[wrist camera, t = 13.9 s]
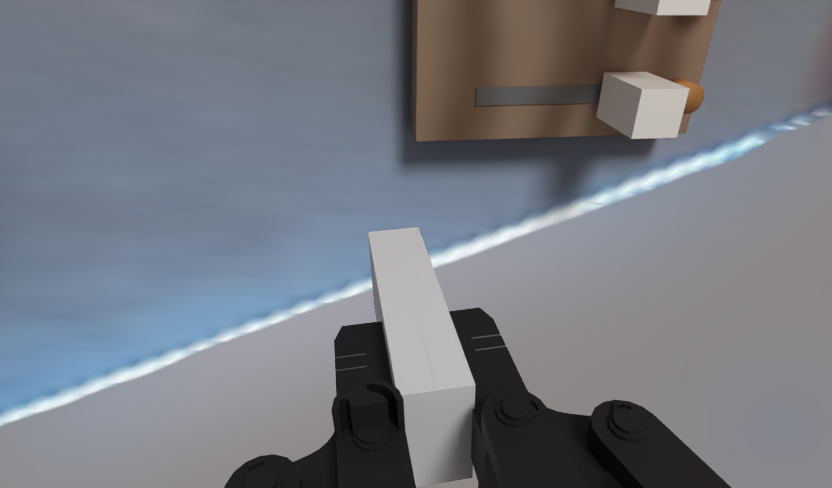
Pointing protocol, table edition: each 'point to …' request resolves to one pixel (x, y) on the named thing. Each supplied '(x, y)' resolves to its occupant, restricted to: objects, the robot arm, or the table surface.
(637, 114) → the switch
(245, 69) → the table surface
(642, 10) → the switch
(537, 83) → the switch unit
